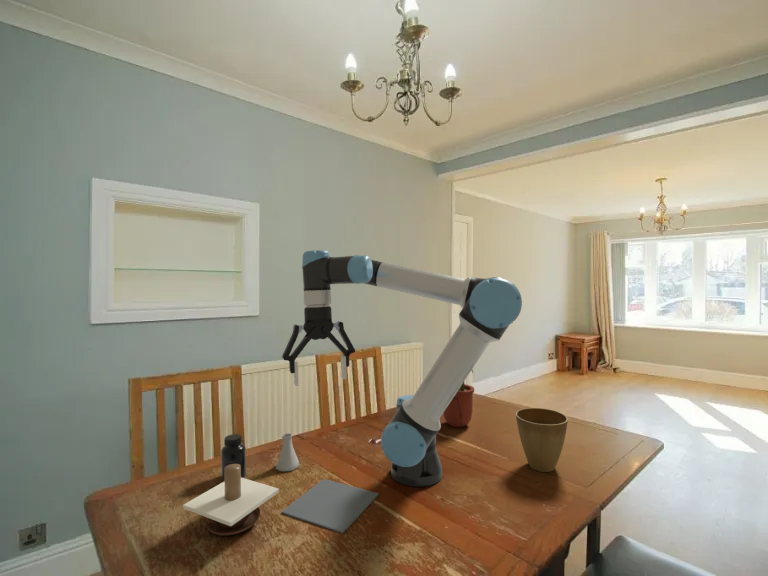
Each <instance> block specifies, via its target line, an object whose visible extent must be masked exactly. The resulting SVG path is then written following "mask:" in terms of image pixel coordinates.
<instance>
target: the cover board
mask: <svg viewBox="0 0 768 576" xmlns="http://www.w3.org/2000/svg"><path fill="white" fill-rule="evenodd" d="M224 477H225V481H223V482H221V483H219V484H218V485H215V486H214V487H212V488H210V489H208V490H206V491H205V492H203V493H201V494H200V495H198V496H196V497H194V498H193V499H191V500H189V501H188V502H186V503H184V504H182V508H183V509H184V510H186V511H189V512H192V513H194V514H197V515H200V516H201V517H205V518H206V517H207V518H210V519H212V520H215V521H218V522H220V523H223V524H226V525H228V526H232V525H234V524H235V523H236V522H238V521H239V520H241V519H242V518H243V517H245V516H246V515H248V514H249V513H250V512H252V511H253V510H255V509H256V508H257V507H258V508H260V506H262V505H263V504H264V503H266V502H267V501H269V500H270V499H271V498H273V497H275V495H277V494H278V493H280V488H278V487H275V486H271V485H268V484H264V483H261V482H258V481H254V480H251V479H249V478H245V477H244V478H241V465H240V464H230V465H228V466H226V467H225V468H224Z"/></svg>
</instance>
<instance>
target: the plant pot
mask: <svg viewBox="0 0 768 576" xmlns="http://www.w3.org/2000/svg"><path fill="white" fill-rule="evenodd" d="M515 417H516V419H515V420H516V425H517V430H518V434H519V438H520V442H521V446H522V449H523V451H524V455H525V457H526V461H527V463H528V465H529V467H530V468H531V469H532V470H535V471H537V472H541V473H542V472H543V473H550V472H553V471H555V470H556V467H557V465H558V463H559V460H560V457H561V454H562V451H563V449H564V448H563V446H564V443H565V440H566V439H565V438H566V434H567V428H568V422H569V421H568V419H569V418H568V416H567V415H566V414H564V413H563V412H560V411H557V410H554V409H550V408H541V407H527V408H521V409H518V410H517V411H516V412H515Z"/></svg>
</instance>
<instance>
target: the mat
mask: <svg viewBox="0 0 768 576" xmlns="http://www.w3.org/2000/svg"><path fill="white" fill-rule="evenodd" d="M379 495H380V493H379V492H375V491H373V490H372V491H371V490H368V489H365V488H364V489H363V488H359V487H357V486H353V485H349V484H345V483H341V482H337V481H333V480H330V479H326V478H323V479H321V480H320V481H319V482H317V483H316V484H315V485H314V486H313V487H311V488H310V489H309V490H307V491H306V492H305V493H304V494H302V495H301V496H299V497H298V498H297V499H296V500H294V501H293V502H292V503H291V504H290V505H288V506H286V508H284V509H283V510H282V511H281V514H283V515H285V516H289V517H292V518H295V519H298V520H301V521H304V522H307V523H310V524H313V525H316V526H319V527H322V528H325V529H328V530H330V531H334V532H337V533H339V534H344V533H345V532H346V531H347V530H348V529H349V528H350V526H351V525H352V524H353V523H354V522H355V521H356V520H357V519H358V518H359V517H360V516H361V515H362V514H363V513H364V512H365V511H366V510H367V508H368V507H369V506H370V505H371V504H372V503H373V502H374V501H375V500H376V498H377V497H379Z"/></svg>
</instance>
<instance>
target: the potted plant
mask: <svg viewBox="0 0 768 576" xmlns="http://www.w3.org/2000/svg"><path fill="white" fill-rule="evenodd" d="M471 373H472V374H474V368H473V369H472V370H471ZM474 393H475V387H474V386H472V385H470V384H465V381H464V382H463V384H462V385H461V387H460V388H459V390H458V391H457V393H456V394H455V396H454V397H453V399H452V400H451V402H450V403H449V405H448V406H447V408H446V409H445V411H444V412H443V418H444V420H445V421H446V423H447V424H448V425H450V427H451V426H452V427H453V428H463V427H464V428H465V427H466V426H467V425H468V424H469V423H470V422H471V420H472V417H473V409H474V408H473V405H474V403H473V401H474V400H473V399H474Z"/></svg>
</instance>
